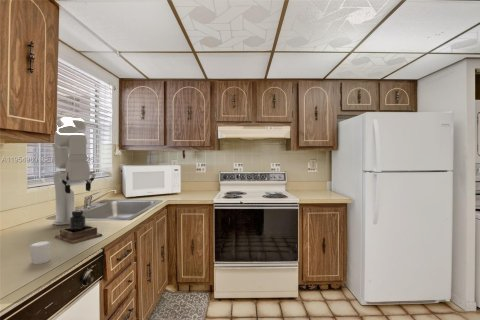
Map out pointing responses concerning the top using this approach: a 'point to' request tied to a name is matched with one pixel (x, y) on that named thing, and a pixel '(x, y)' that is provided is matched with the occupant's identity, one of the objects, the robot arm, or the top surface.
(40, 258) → the shot glass
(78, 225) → the supplement bottle
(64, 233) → the bottle cradle
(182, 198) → the top surface
